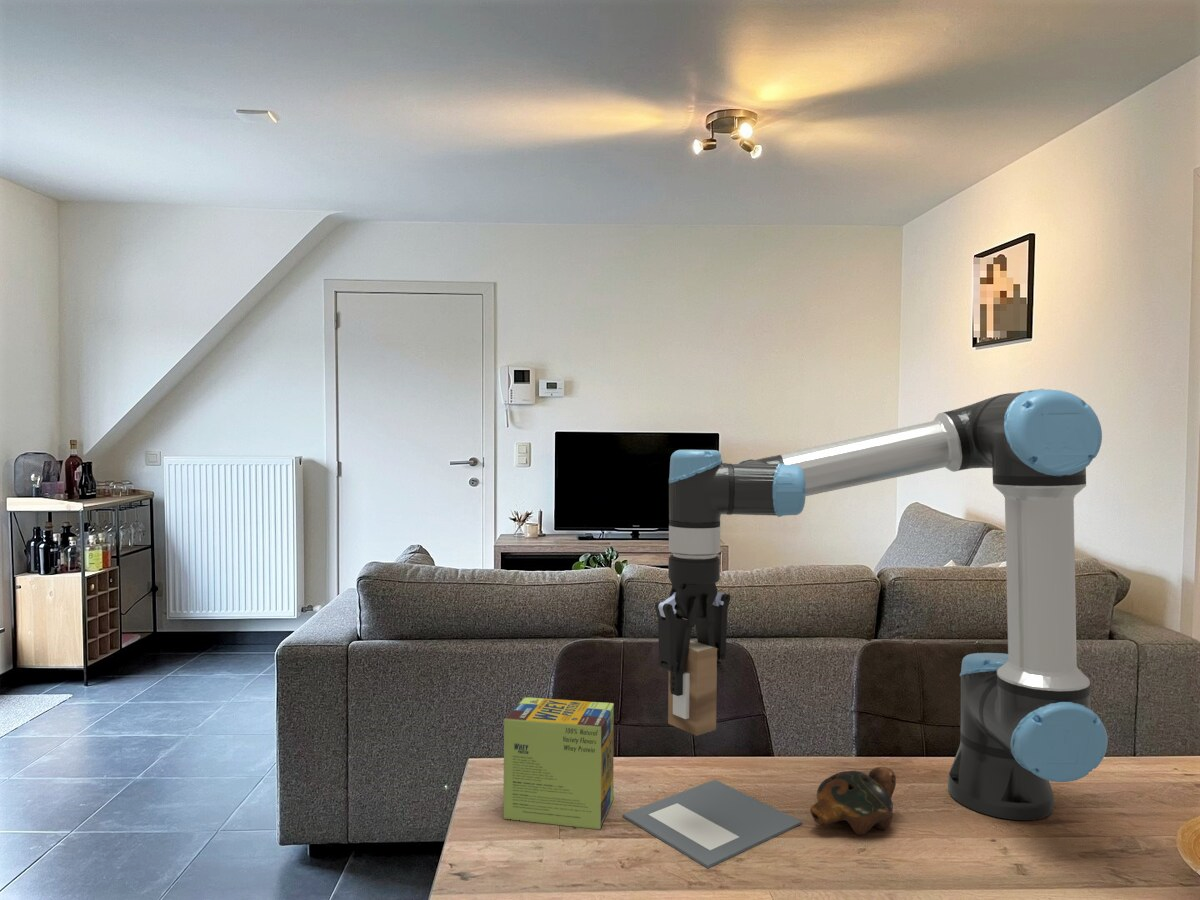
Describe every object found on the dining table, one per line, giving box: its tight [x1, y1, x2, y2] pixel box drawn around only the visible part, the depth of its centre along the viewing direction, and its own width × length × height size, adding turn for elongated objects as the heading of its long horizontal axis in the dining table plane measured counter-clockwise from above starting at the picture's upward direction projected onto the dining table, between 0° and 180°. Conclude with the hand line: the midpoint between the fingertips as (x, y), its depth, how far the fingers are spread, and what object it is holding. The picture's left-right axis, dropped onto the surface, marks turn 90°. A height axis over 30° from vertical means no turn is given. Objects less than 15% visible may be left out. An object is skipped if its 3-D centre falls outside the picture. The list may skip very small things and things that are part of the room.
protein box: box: [502, 697, 615, 830], centre depth 123 cm, size 10×15×16 cm
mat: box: [622, 779, 803, 869], centre depth 119 cm, size 18×20×1 cm
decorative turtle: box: [809, 766, 897, 837], centre depth 118 cm, size 10×15×8 cm, turn 119°
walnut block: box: [667, 639, 718, 737], centre depth 116 cm, size 6×4×12 cm, turn 38°
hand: (692, 712), depth 116 cm, fingers closed on walnut block, 4 cm apart
